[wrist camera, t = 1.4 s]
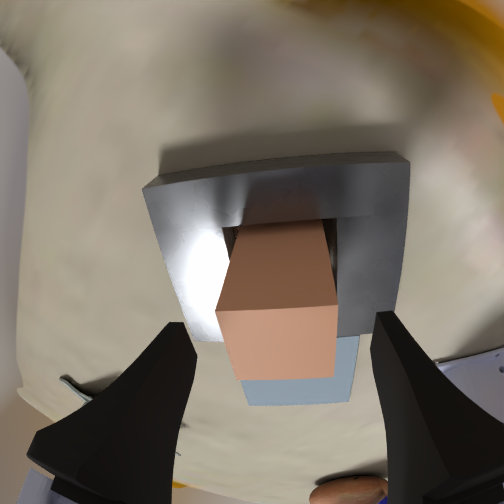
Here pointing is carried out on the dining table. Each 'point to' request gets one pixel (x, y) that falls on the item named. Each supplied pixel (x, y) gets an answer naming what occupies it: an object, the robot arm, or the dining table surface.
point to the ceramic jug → (351, 491)
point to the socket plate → (282, 210)
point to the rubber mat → (309, 382)
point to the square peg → (279, 303)
